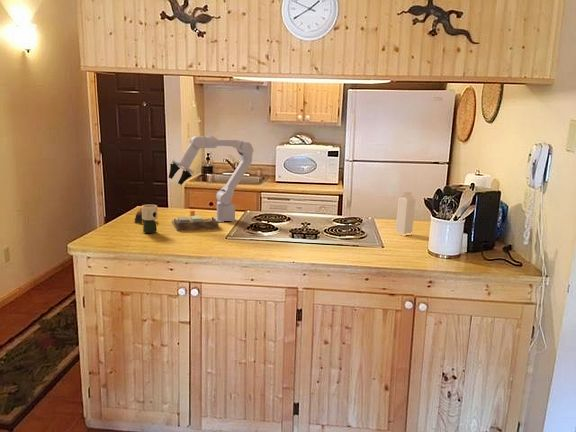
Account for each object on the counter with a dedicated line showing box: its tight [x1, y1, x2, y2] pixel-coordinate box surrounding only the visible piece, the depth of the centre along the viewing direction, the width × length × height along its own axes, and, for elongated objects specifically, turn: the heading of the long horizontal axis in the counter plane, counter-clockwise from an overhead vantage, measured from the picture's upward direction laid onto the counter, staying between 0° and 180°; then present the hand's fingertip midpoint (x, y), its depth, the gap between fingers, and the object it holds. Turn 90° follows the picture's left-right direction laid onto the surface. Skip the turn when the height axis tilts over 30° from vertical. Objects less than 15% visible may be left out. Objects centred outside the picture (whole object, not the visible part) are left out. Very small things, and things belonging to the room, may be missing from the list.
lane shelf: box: [171, 216, 220, 232], centre depth 255 cm, size 20×18×4 cm
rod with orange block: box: [189, 209, 203, 222], centre depth 254 cm, size 5×14×5 cm, turn 21°
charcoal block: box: [177, 216, 190, 223], centre depth 249 cm, size 5×6×4 cm
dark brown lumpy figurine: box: [134, 207, 145, 225], centre depth 257 cm, size 12×10×8 cm
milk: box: [395, 191, 417, 234], centre depth 253 cm, size 6×6×22 cm
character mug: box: [141, 204, 158, 234], centre depth 237 cm, size 11×7×13 cm, turn 0°
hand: (174, 181), depth 253 cm, fingers open, 7 cm apart
